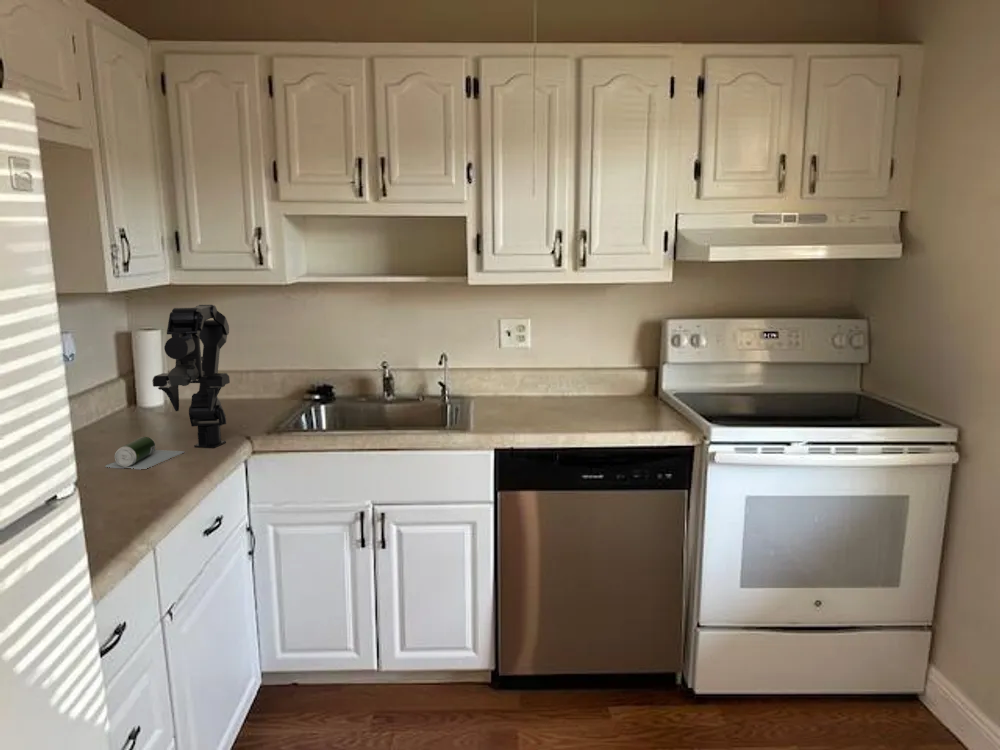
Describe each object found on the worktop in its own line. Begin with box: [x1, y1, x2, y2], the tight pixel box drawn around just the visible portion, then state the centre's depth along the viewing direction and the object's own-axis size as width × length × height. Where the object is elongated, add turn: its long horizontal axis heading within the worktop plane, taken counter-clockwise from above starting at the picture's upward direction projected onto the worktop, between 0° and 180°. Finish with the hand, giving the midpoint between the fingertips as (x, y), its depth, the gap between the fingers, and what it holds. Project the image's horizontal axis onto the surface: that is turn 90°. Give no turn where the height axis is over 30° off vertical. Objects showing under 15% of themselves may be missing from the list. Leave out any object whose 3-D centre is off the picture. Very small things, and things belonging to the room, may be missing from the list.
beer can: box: [114, 436, 156, 467], centre depth 186 cm, size 5×5×12 cm
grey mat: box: [105, 449, 186, 470], centre depth 189 cm, size 16×12×1 cm
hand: (193, 411), depth 189 cm, fingers open, 9 cm apart
